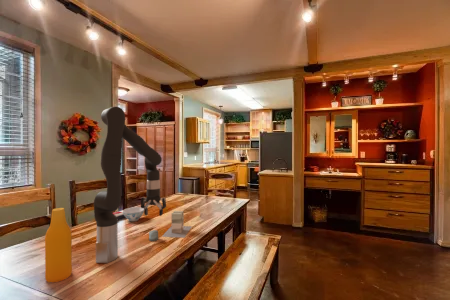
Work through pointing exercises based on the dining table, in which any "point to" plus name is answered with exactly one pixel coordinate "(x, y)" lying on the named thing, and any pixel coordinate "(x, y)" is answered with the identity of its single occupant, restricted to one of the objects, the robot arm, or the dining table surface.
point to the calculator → (119, 215)
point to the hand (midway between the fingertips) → (153, 215)
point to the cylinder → (153, 235)
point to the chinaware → (133, 213)
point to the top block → (178, 217)
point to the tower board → (182, 234)
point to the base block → (177, 227)
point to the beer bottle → (58, 248)
